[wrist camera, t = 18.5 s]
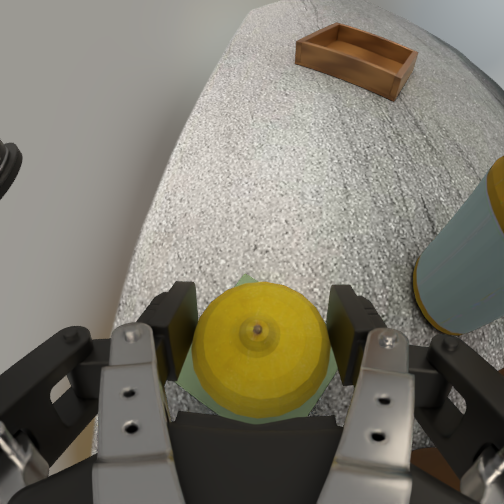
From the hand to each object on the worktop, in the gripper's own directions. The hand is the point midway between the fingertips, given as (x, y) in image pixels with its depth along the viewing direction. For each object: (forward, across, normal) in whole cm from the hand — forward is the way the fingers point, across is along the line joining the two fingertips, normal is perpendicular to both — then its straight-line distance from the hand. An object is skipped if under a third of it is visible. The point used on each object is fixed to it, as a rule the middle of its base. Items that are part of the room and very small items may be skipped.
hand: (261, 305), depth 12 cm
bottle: (+6, -14, +3) cm, 15 cm away
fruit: (+2, 0, +5) cm, 5 cm away
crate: (+29, -13, -21) cm, 38 cm away
